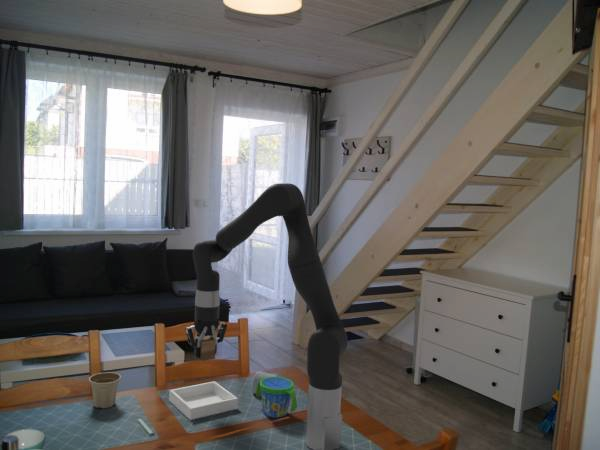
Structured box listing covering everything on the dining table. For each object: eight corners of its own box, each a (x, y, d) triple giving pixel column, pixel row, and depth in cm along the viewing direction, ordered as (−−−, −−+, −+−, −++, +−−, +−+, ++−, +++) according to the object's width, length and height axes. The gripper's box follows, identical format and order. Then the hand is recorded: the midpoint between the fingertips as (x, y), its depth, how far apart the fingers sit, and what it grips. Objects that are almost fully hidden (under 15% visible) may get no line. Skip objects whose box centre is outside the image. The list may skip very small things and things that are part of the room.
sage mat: (183, 426, 149) (183, 425, 149) (149, 435, 144) (149, 433, 143) (169, 413, 157) (169, 412, 157) (137, 421, 152) (137, 419, 151)
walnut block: (214, 358, 162) (215, 340, 162) (201, 360, 160) (202, 342, 159) (208, 354, 166) (209, 336, 166) (195, 356, 163) (196, 338, 163)
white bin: (237, 410, 162) (237, 398, 162) (190, 421, 153) (190, 408, 153) (213, 392, 175) (214, 381, 175) (169, 402, 166) (169, 390, 165)
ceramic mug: (274, 400, 172) (276, 378, 171) (251, 397, 173) (252, 375, 173) (281, 389, 182) (283, 368, 182) (259, 386, 184) (260, 365, 183)
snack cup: (304, 418, 159) (306, 386, 159) (278, 428, 152) (280, 394, 151) (271, 401, 171) (273, 371, 170) (246, 409, 163) (248, 378, 163)
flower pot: (81, 405, 159) (81, 378, 159) (105, 395, 168) (106, 369, 167) (102, 413, 155) (103, 385, 154) (126, 402, 163) (127, 376, 163)
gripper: (191, 308, 154) (189, 364, 156) (233, 304, 163) (231, 357, 164) (181, 303, 160) (179, 356, 162) (222, 299, 169) (219, 350, 170)
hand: (205, 356), depth 163 cm, fingers closed on walnut block, 4 cm apart
